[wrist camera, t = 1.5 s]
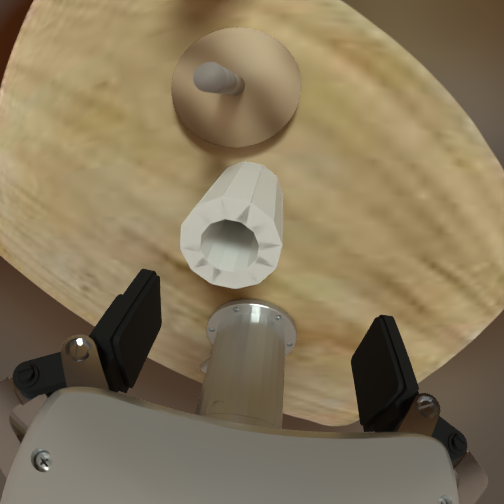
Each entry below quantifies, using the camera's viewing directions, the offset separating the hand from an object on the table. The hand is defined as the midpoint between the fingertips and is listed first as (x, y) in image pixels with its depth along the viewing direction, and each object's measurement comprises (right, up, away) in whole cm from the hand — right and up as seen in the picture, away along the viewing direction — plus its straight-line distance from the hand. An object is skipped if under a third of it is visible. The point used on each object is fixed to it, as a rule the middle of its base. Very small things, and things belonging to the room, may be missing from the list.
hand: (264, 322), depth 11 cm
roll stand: (-2, +19, +12) cm, 22 cm away
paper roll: (-1, +9, +17) cm, 19 cm away
